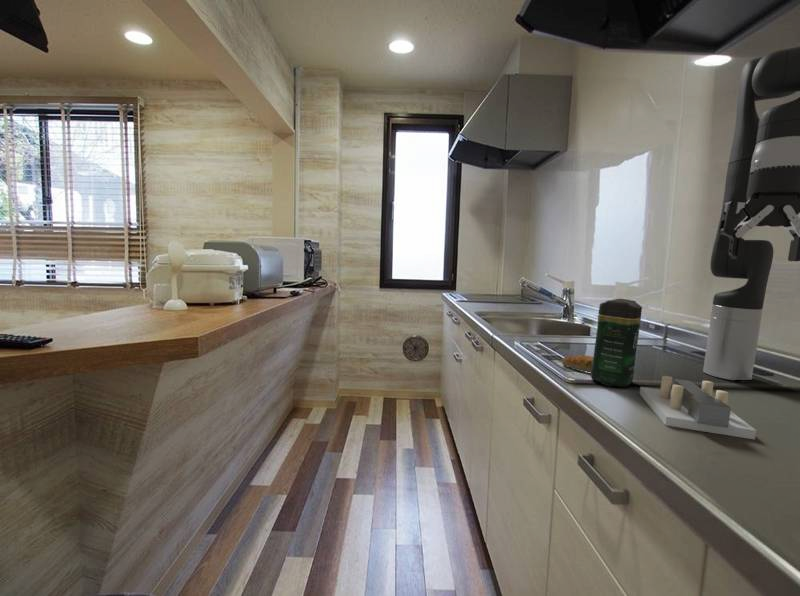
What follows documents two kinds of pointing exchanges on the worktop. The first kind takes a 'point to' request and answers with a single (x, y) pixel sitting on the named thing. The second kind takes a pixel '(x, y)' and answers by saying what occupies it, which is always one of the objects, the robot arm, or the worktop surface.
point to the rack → (677, 415)
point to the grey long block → (703, 405)
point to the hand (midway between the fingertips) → (764, 260)
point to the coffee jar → (616, 342)
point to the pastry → (579, 362)
